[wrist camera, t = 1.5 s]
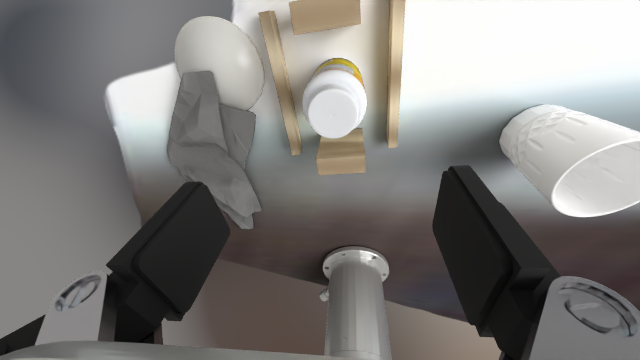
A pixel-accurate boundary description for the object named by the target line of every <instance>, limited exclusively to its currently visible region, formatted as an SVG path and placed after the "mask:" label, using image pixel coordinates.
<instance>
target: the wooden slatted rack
mask: <svg viewBox="0 0 640 360" xmlns="http://www.w3.org/2000/svg"><path fill="white" fill-rule="evenodd" d="M289 7H290V13H291V18H292V24H293V30H294V35H297V34H303V33H309V32H315V31H321V30H327V29H333V28H339V27H345V26H351V25H358V24H361V20H360V0H298V1H293V2H289ZM404 15H405V0H390V14H389V55H388V95H387V135H386V141H387V144H388V148H393V147H397V142H398V124H399V105H400V87H401V69H402V51H403V33H404ZM259 17H260V22H261V26H262V30H263V34H264V38H265V43H266V47H267V51H268V55H269V59H270V64H271V68H272V72H273V76H274V80H275V85H276V89H277V93H278V97H279V101H280V105H281V110H282V114H283V118H284V122H285V126H286V131H287V135H288V139H289V143H290V147H291V152H292V155H300V153H301V150H302V143H301V138H300V133H299V128H298V123H297V119H296V114H295V109H294V104H293V99H292V94H291V89H290V85H289V80H288V75H287V70H286V65H285V60H284V55H283V50H282V46H281V41H280V36H279V31H278V26H277V21H276V16H275V12H274V11H265V12H260V13H259ZM316 162H317V168H318V174H319V175H329V174H346V173H362V172H366V167H365V150H364V142H363V133H362V128H356V129H353V130H352V131H351V132H350V133H348V134H347V135H345V136H343V137H341V138H336V139H330V138H325V137H323V136H321V140H320V144H319V148H318V153H317V157H316Z"/></svg>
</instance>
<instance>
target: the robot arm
mask: <svg viewBox="0 0 640 360" xmlns="http://www.w3.org/2000/svg"><path fill="white" fill-rule="evenodd" d="M433 232H434V235H435V238H436V240H437V243H438V245H439V248H440V251H441V253H442V256H443V258H444V261H445V264H446V266H447V269H448V271H449V274H450V277H451V279H452V282H453V284H454V287H455V289H456V292H457V295H458V297H459V300H460V302H461V305H462V308H463V310H464V313H465V315H466V318H467V320H468V322H469V324H471V325H475V326H476V329H477V331H478V334H479V336H480V337H494V338H495V340H496V343H497V345H498V347H499V349H500V350H501V351H502V352H501V355H500V357H499V360H640V312H639V311H638V310H637V309H636V308H635V307H634V306H633V305H632V304H631V303H630V302H629V301H628V300H626V299H625V298H623V297H622V296H620V295H619V294H617V293H616V292H615V291H613V290H611V289H609V288H607V287H605V286H603V285H601V284H599V283H597V282H594V281H591V280H588V279H585V278H580V277H574V276H565V277H561V276H560V275H559V273H558V272H557V271H556V270H555V268H554V267H553V266H552V265H551V263H550V262H549V261H548V260H547V258H546V257H545V256H544V255H543V254H542V252H541V251H540V250H539V249H538V247H537V246H536V245H535V244H534V242H533V241H532V240H531V239H530V237H529V236H528V235H527V234H526V232H525V231H524V230H523V229H522V227H521V226H520V225H519V224H518V223H517V221H516V220H515V219H514V218H513V216H512V215H511V214H510V213H509V211H508V210H507V209H506V208H505V206H504V205H502V204H501V203H500V202H498V201H497V200H496V198H495V197H494V196H493V194H492V193H491V192H490V191H489V189H488V188H487V187H486V186H485V184H484V183H483V182H482V181H481V179H480V178H479V177H478V176H477V174H476V173H475V172H474V171H473V169H472V168H471V167H470V166H468V165H466V166H451V167H449V169H448V171H444V172H443V174H442V179H441V184H440V189H439V194H438V199H437V204H436V209H435V214H434V219H433ZM229 235H230V228H229V226H228V224H227V222H226V220H225V218H224V217H223V215H222V213H221V211H220V209H219V207H218V205H217V203H216V201H215V199H214V198H213V196H212V194H211V192H210V190H209V188H208V186H207V185H205V184H204V183H203V182H200V181H196V182H186V183H185V184H183V185H182V186H181V188H180V189H179V190H178V191H177V192H176V193H175V194H174V195H173V196H172V197H171V198H170V199H169V200H168V201H167V202H166V203H165V204H164V205H163V206H162V207H161V208H160V209H159V210H158V211H157V212H156V213H155V214H154V216H153V217H152V218H151V219H150V220H149V221H148V222H147V223H146V224H145V225H144V226H143V227H142V228H141V229H140V230H139V231H138V232H137V233H136V234H135V235H134V236H133V237H132V238H131V239H130V240H129V242H128V243H127V244H126V245H125V246H124V247H123V248H122V249H121V250H120V251H119V252H118V253H117V254H116V255H115V256H114V257H113V258H112V259H111V260H110V261H109V262H108V263H107V264H106V266H107V267H108V268H109V269H111V270H112V271H113V272H112V273H111V274H110V275H107V274H106V273H105V272H104V271H94V272H90V273H87V274H85V275H83V276H81V277H79V278H77V279H75V280H74V281H72V282H71V283H69V284H68V285H67V286H65V287H64V288H63V289H62V290H61V291H60V292H59V293H58V294H57V295H56V296H55V297H54V299H53V300H52V302H51V303H50V305H49V307H48V310H47V313H46V314H45V315H43V316H42V317H40V318H38V319H36V320H34V321H32V322H31V323H29V324H27V325H25V326H23V327H22V328H20V329H18V330H16V331H14V332H12V333H11V334H9V335H7V336H5V337H3V338H1V339H0V360H392V359H391V351H390V343H389V335H388V327H387V319H386V311H385V303H384V295H383V286H382V282H383V281H384V280H385V279H386V278H387V276H388V274H389V266H388V262H387V260H386V259H385V258H384V256H382V255H381V254H380V253H378V252H376V251H375V250H372V249H369V248H365V247H359V246H348V247H342V248H339V249H336V250H334V251H332V252H331V253H329V254H328V255H327V256H326V257H325V259H324V262H323V272H324V274H325V276H326V277H327V278H328V279H329V285H328V286H327V288H326V289H324V290H323V291H322V292H321V293H320V299H321V300H322V301H326V300H328V299H329V300H328V315H327V329H326V343H325V356H318V355H305V354H291V353H277V352H262V351H247V350H233V349H219V348H206V347H191V346H176V345H163V338H162V324H161V322H162V320H163V318H166V319H167V320H168V321H181V320H182V318H183V316H184V314H185V313H186V312H187V311H188V310H189V309H190V308H191V306H192V304H193V303H194V301H195V299H196V297H197V295H198V293H199V291H200V290H201V288H202V286H203V284H204V282H205V280H206V278H207V276H208V275H209V273H210V271H211V269H212V267H213V265H214V263H215V262H216V260H217V258H218V256H219V254H220V252H221V250H222V248H223V247H224V245H225V243H226V241H227V239H228V237H229Z"/></svg>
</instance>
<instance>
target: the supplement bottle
mask: <svg viewBox="0 0 640 360" xmlns="http://www.w3.org/2000/svg"><path fill="white" fill-rule="evenodd" d="M302 107H303V112H304V115H305V117H306V119H307V121H308V123H309V124H310V125H311V127H312V128H313V130H314V131H315V132H316V133H318V134H319V135H321V136H323V137H325V138H330V139H336V138H341V137H343V136H345V135H347V134H348V133H350V132H351V131H352V130H353V129H355V128H356V127H357V126H358V125H359V124H360V122H361V121H362V119H363V117H364V115H365V112H366V107H367V98H366V93H365V89H364V84H363V81H362V77H361V74H360V72H359V70H358V68H357V67H356V66H355V65H354V64H353V63H352V62H350V61H349V60H346V59H343V58H333V59H329V60H327V61H325V62H324V63H322V64H321V65H320V66H319V68H318V69H317V70H316V72H315V73H314V75H313V76H312V78H311V80H310V82H309V83H308V85H307V87H306V89H305V91H304V94H303V100H302Z"/></svg>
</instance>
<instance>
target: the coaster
mask: <svg viewBox="0 0 640 360" xmlns="http://www.w3.org/2000/svg"><path fill="white" fill-rule="evenodd" d="M175 62H176V66H177V70H178V72H179V75H180V77H181V79H182V74H183V73H186V72H198V71H211V72H212V73H213V75H214V79H215V83H216V87H217V91H218V95H219V104H220V105H224V106H227V107H231V108H235V109H240V110H244V111H246V110H248V109H249V108H251V107H252V106H253V105H254V104H255V103H256V102H257V100H258V99H259V97H260V95H261V93H262V90H263V86H264V69H263V64H262V60H261V58H260V55H259V53H258V51H257V49H256V47H255V45H254V44H253V42H252V41H251V39H250V38H249V37H248V36H247V35H246V34H245V33H244V32H243V31H242V30H241V29H240V28H239V27H237V26H236V25H234V24H233V23H231V22H229V21H227V20H225V19H222V18H218V17H212V16H204V17H198V18H195V19H192V20H191V21H189V22H188V23H186V24H185V25H184V26H183V27H182V29H181V30H180V32H179V34H178V36H177V39H176V43H175Z"/></svg>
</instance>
